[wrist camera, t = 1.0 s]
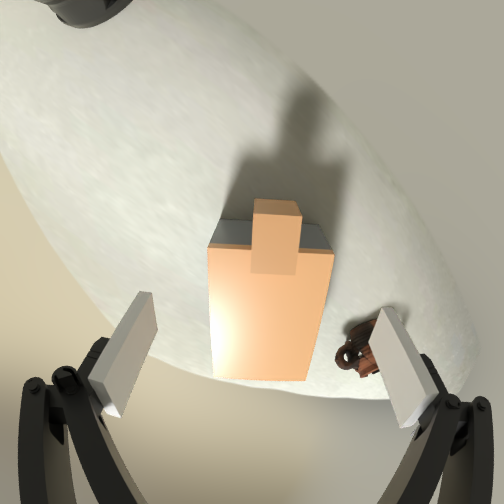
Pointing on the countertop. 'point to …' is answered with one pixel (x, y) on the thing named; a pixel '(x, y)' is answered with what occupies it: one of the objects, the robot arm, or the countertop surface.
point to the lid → (267, 298)
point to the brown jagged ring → (352, 348)
